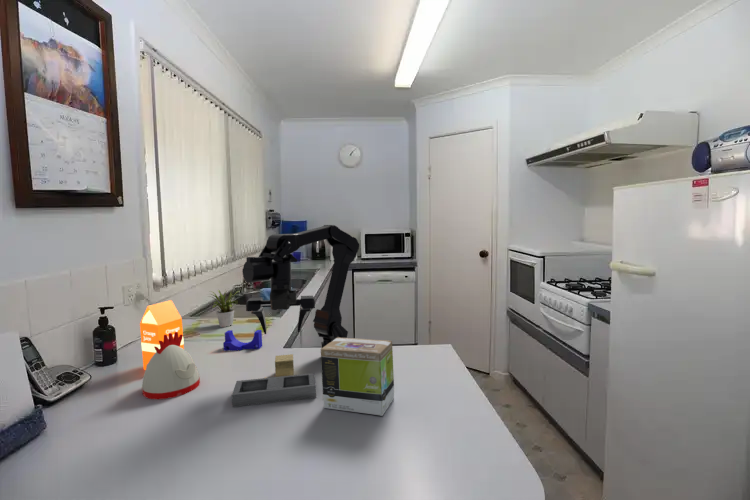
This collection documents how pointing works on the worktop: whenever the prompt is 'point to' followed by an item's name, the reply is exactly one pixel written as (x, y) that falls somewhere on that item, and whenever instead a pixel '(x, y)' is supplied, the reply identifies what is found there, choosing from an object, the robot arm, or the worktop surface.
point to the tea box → (358, 375)
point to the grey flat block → (274, 389)
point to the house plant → (224, 309)
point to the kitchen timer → (170, 371)
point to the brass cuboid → (284, 365)
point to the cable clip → (236, 345)
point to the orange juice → (158, 327)
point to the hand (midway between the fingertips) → (282, 333)
